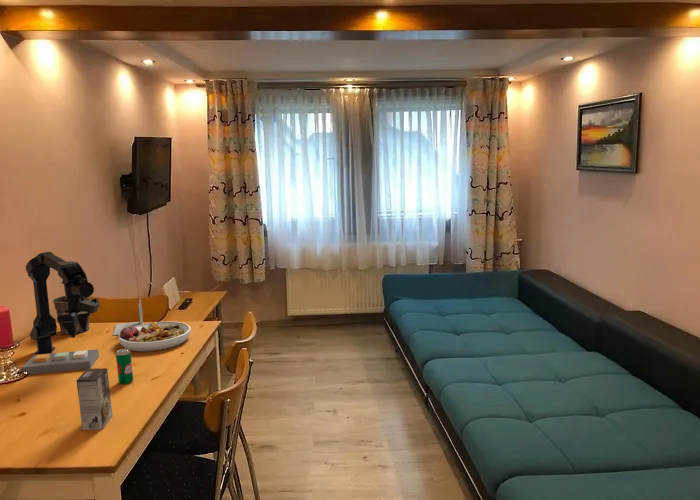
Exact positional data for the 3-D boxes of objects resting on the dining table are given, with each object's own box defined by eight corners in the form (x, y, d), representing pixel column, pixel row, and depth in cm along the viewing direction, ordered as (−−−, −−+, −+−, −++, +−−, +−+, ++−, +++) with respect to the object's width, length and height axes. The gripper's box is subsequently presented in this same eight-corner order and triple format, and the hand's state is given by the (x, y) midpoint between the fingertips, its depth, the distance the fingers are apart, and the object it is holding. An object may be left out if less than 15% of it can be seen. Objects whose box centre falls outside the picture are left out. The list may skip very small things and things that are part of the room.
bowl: (189, 328, 269) (188, 312, 268) (193, 348, 241) (191, 330, 240) (121, 336, 260) (120, 319, 259) (117, 358, 232) (115, 339, 231)
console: (35, 362, 229) (34, 354, 229) (98, 356, 234) (98, 349, 233) (23, 374, 216) (22, 367, 215) (90, 368, 220) (89, 361, 220)
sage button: (57, 360, 226) (56, 353, 226) (69, 359, 227) (68, 351, 226) (54, 364, 222) (53, 356, 221) (66, 363, 223) (65, 355, 222)
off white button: (76, 358, 227) (75, 351, 227) (88, 357, 228) (87, 350, 228) (73, 362, 223) (72, 355, 223) (85, 361, 224) (84, 354, 224)
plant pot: (64, 326, 277) (60, 294, 274) (98, 324, 278) (95, 292, 276) (50, 337, 261) (46, 303, 258) (87, 335, 262) (83, 301, 260)
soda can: (128, 385, 203) (125, 353, 201) (115, 384, 204) (112, 352, 202) (136, 379, 208) (133, 348, 206) (123, 378, 209) (120, 347, 207)
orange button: (38, 362, 225) (37, 354, 224) (50, 360, 226) (49, 353, 225) (34, 365, 220) (34, 358, 220) (47, 364, 221) (46, 357, 221)
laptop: (116, 325, 277) (113, 299, 275) (143, 322, 281) (141, 297, 278) (112, 336, 260) (109, 309, 258) (141, 333, 264) (138, 306, 261)
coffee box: (92, 417, 179) (86, 368, 176) (113, 415, 179) (108, 367, 177) (81, 430, 170) (75, 379, 167) (103, 429, 170) (97, 378, 168)
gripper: (83, 299, 211) (89, 339, 213) (104, 288, 230) (109, 326, 232) (53, 301, 211) (59, 341, 213) (77, 290, 230) (82, 328, 232)
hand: (79, 334), depth 223 cm, fingers open, 9 cm apart
